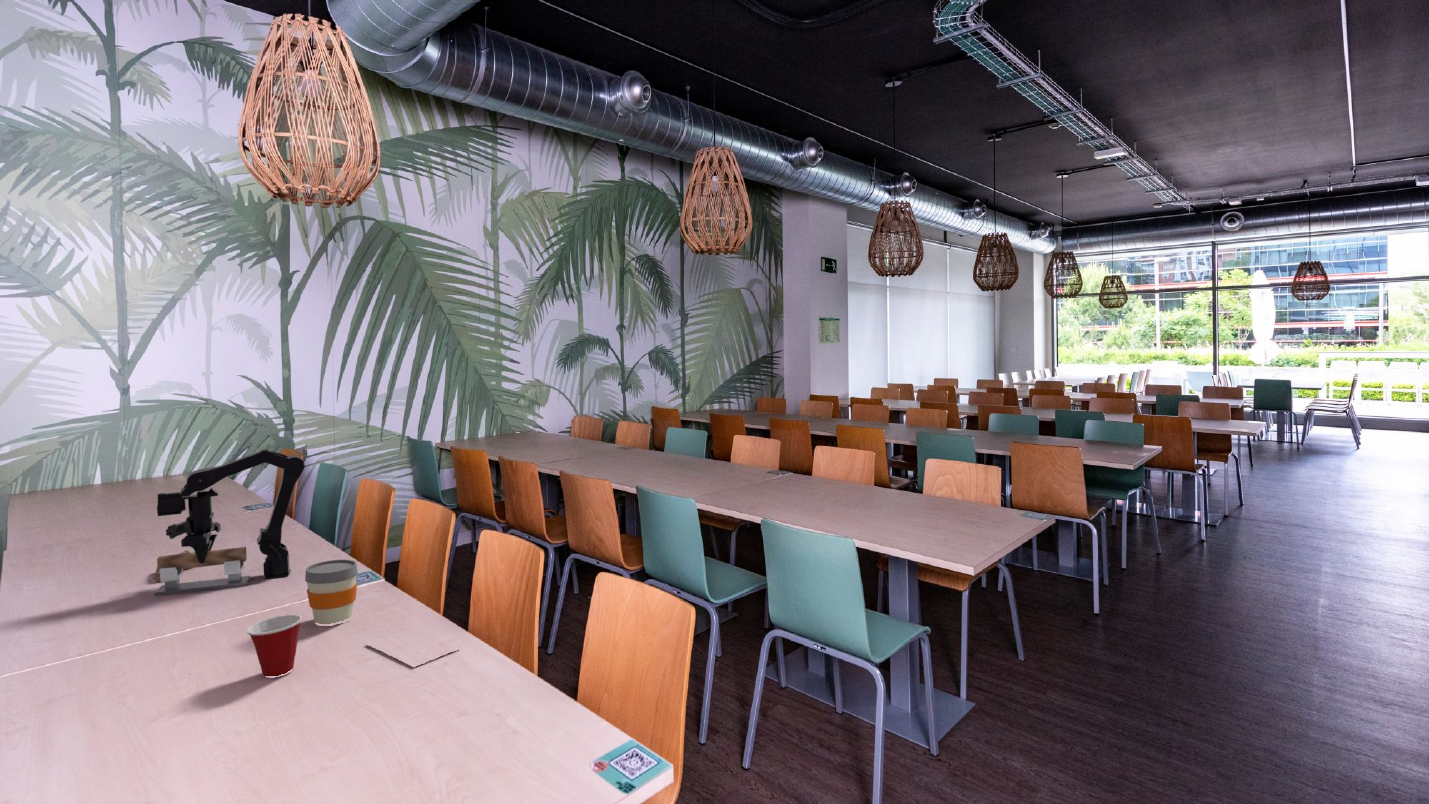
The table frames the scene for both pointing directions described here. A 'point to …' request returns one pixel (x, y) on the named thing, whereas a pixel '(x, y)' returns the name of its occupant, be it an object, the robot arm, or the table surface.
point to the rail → (211, 559)
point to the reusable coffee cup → (332, 590)
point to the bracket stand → (174, 586)
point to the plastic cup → (276, 643)
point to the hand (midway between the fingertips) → (203, 561)
